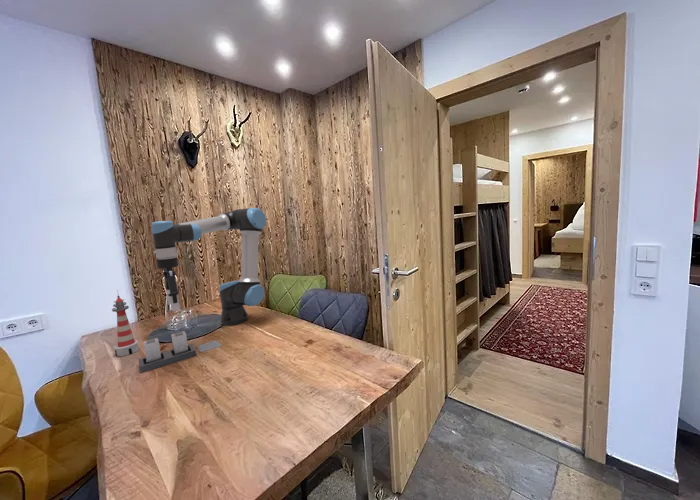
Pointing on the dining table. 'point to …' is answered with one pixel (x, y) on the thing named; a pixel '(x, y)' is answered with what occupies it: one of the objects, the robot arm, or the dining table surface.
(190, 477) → the dining table surface
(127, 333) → the miniature lighthouse
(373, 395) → the dining table surface
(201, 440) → the dining table surface
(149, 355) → the silver square post
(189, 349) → the rail
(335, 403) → the dining table surface
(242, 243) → the robot arm
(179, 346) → the grey square peg
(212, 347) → the mat
